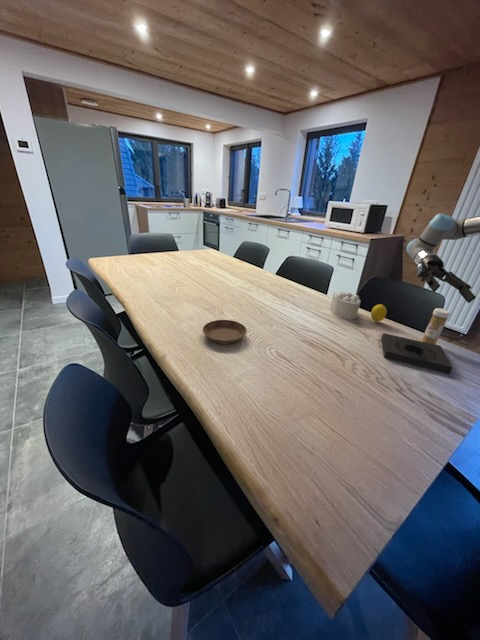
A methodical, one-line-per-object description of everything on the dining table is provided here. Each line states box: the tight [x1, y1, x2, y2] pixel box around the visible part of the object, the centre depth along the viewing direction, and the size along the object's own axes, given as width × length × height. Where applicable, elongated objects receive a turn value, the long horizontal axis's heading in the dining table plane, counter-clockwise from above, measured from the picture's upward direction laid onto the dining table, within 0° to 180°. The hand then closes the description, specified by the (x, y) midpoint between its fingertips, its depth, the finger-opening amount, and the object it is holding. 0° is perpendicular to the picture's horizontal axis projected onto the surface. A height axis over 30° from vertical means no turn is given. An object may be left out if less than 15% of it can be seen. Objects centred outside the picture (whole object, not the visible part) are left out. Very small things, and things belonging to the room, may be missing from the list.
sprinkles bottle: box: [420, 307, 451, 345], centre depth 93 cm, size 5×5×13 cm
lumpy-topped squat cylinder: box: [329, 291, 362, 321], centre depth 115 cm, size 10×13×9 cm
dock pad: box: [380, 332, 453, 375], centre depth 88 cm, size 18×14×2 cm
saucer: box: [202, 319, 247, 345], centre depth 90 cm, size 15×15×3 cm
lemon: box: [370, 303, 388, 323], centre depth 109 cm, size 6×6×8 cm
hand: (454, 294), depth 90 cm, fingers open, 13 cm apart
